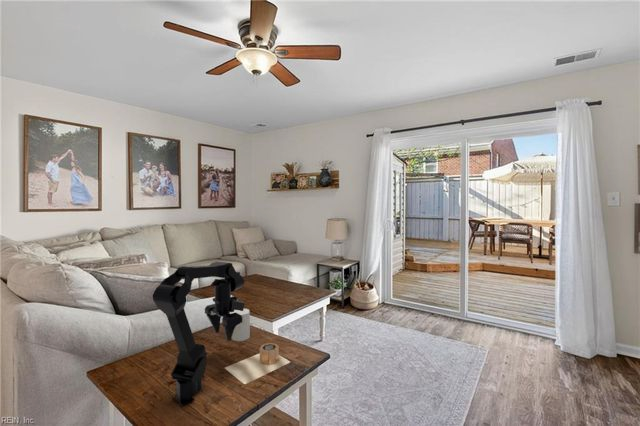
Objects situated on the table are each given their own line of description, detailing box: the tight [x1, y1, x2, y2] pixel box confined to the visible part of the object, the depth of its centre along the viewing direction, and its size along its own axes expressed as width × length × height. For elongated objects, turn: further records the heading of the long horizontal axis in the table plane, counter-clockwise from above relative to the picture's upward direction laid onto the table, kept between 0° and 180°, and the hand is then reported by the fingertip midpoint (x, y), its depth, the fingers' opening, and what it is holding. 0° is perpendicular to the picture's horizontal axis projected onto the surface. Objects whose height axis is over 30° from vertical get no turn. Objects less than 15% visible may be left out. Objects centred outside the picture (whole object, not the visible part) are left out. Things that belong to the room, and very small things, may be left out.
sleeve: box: [259, 342, 280, 365], centre depth 115 cm, size 7×7×5 cm
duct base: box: [224, 345, 291, 385], centre depth 112 cm, size 20×14×6 cm
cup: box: [231, 308, 251, 342], centre depth 137 cm, size 8×8×12 cm
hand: (223, 336), depth 112 cm, fingers open, 9 cm apart
